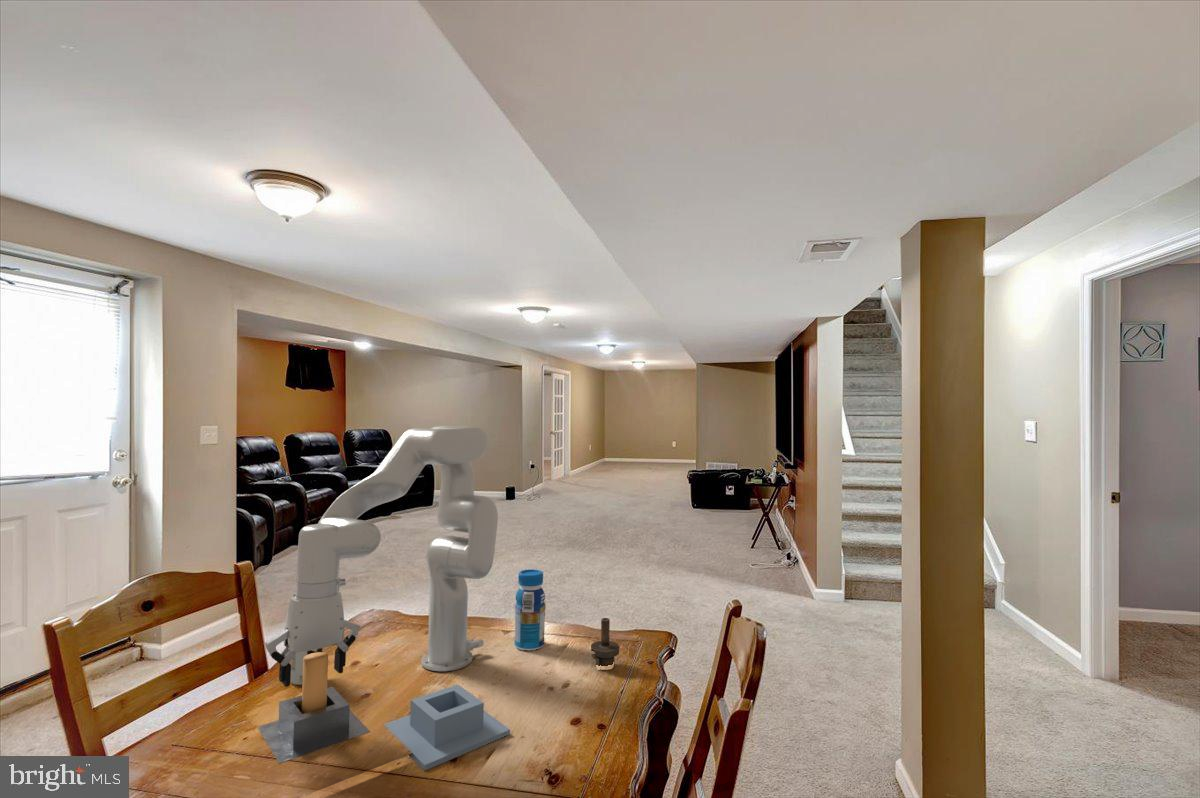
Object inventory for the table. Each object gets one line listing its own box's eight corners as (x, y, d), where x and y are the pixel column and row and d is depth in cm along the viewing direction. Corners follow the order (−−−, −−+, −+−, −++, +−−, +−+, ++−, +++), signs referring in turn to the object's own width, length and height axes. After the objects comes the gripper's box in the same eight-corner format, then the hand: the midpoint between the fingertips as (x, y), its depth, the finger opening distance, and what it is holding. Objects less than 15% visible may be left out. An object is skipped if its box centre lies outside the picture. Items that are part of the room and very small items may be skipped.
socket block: (464, 700, 129) (464, 673, 129) (510, 734, 116) (510, 703, 116) (383, 729, 117) (384, 698, 117) (424, 770, 103) (425, 736, 104)
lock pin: (321, 720, 118) (324, 650, 118) (329, 729, 114) (331, 657, 115) (298, 728, 115) (300, 656, 115) (304, 737, 111) (307, 663, 112)
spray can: (308, 687, 134) (311, 599, 134) (283, 684, 135) (285, 597, 136) (328, 675, 140) (330, 590, 141) (303, 672, 142) (305, 588, 142)
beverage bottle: (507, 645, 160) (509, 571, 161) (531, 637, 166) (532, 566, 167) (527, 654, 154) (529, 578, 155) (551, 645, 160) (552, 572, 161)
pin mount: (341, 705, 126) (342, 677, 126) (370, 736, 114) (371, 705, 114) (257, 732, 115) (258, 701, 115) (279, 769, 103) (280, 734, 103)
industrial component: (614, 659, 152) (615, 613, 152) (624, 671, 145) (625, 622, 146) (580, 663, 149) (580, 616, 150) (588, 675, 142) (589, 626, 143)
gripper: (355, 577, 124) (351, 660, 123) (263, 591, 112) (258, 683, 111) (368, 585, 118) (364, 672, 117) (273, 601, 107) (268, 697, 106)
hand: (312, 677), depth 114 cm, fingers open, 9 cm apart
